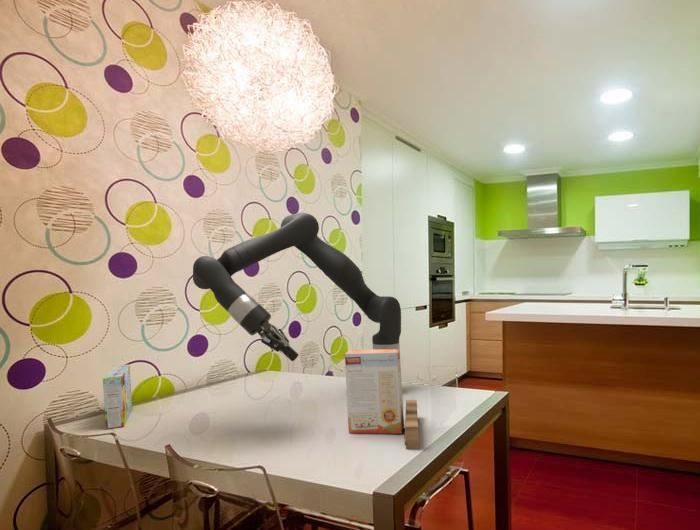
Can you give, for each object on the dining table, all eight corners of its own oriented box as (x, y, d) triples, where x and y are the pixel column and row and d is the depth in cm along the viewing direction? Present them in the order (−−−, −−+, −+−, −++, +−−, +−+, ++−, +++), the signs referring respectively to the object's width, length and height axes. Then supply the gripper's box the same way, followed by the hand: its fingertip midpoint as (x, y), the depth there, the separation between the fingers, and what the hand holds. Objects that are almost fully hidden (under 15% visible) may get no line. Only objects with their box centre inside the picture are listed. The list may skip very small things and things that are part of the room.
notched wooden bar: (405, 417, 133) (404, 400, 133) (417, 417, 133) (416, 399, 133) (404, 448, 109) (403, 427, 110) (419, 448, 109) (418, 427, 109)
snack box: (114, 411, 155) (112, 365, 156) (132, 409, 157) (131, 363, 158) (103, 430, 135) (102, 377, 136) (125, 427, 137) (123, 375, 138)
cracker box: (404, 427, 125) (400, 348, 126) (402, 435, 119) (397, 351, 120) (352, 426, 128) (349, 348, 129) (347, 433, 122) (344, 352, 123)
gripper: (250, 305, 120) (299, 352, 118) (265, 302, 133) (310, 344, 132) (231, 326, 121) (279, 373, 119) (248, 321, 134) (292, 364, 132)
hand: (295, 358), depth 125 cm, fingers closed
